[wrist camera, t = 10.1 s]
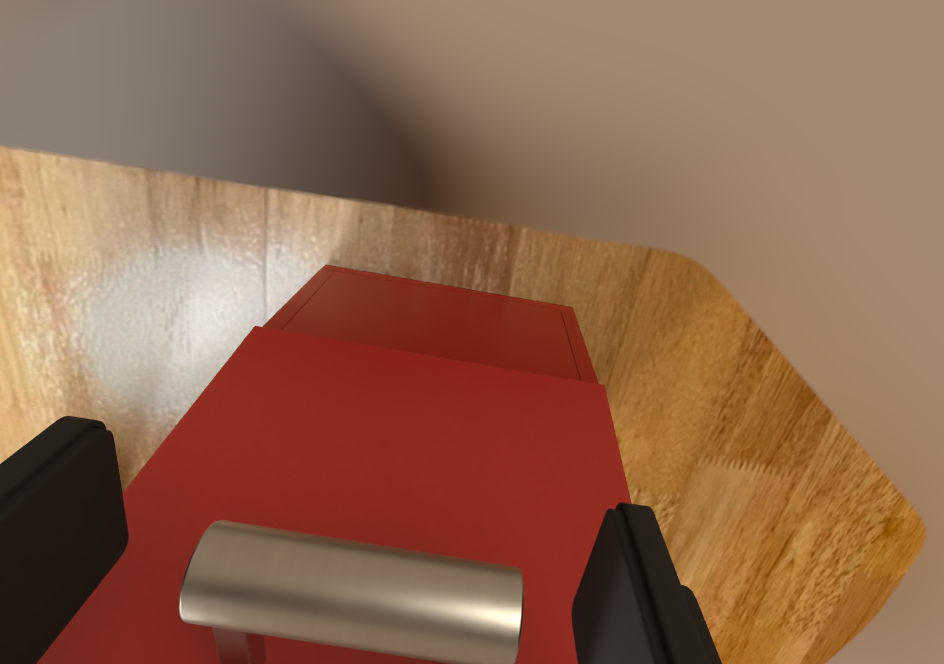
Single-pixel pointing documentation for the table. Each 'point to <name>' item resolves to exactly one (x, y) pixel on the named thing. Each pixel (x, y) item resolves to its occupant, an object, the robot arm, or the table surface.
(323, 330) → the chest
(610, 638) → the robot arm
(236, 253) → the table surface
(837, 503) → the table surface
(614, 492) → the lid
